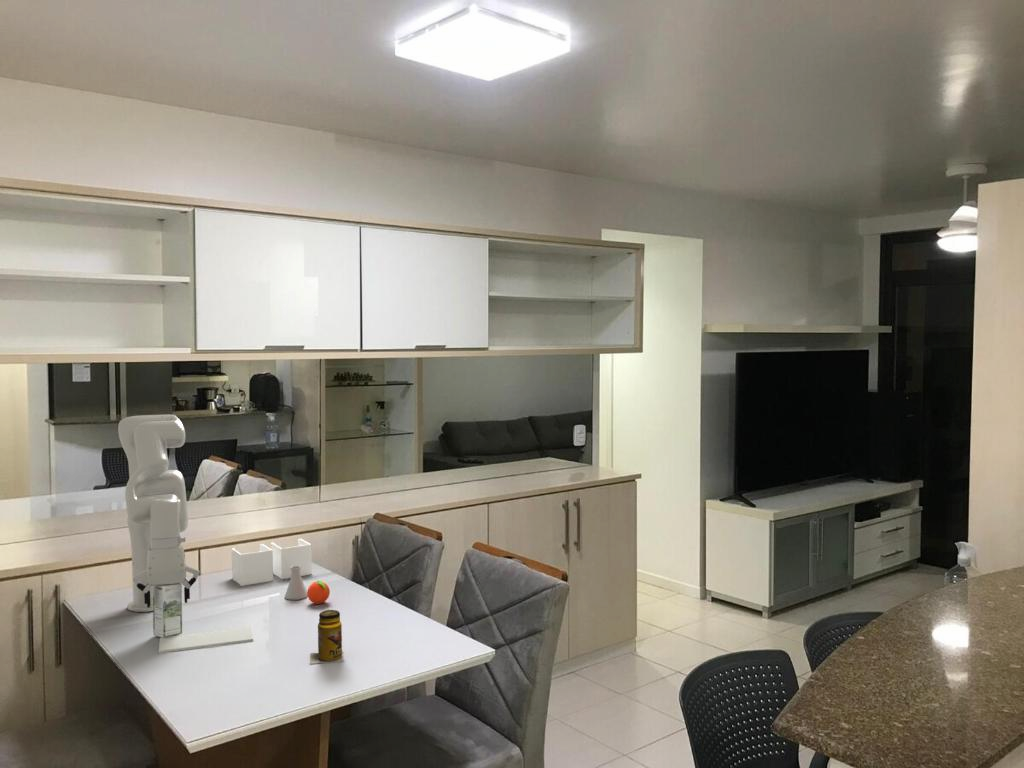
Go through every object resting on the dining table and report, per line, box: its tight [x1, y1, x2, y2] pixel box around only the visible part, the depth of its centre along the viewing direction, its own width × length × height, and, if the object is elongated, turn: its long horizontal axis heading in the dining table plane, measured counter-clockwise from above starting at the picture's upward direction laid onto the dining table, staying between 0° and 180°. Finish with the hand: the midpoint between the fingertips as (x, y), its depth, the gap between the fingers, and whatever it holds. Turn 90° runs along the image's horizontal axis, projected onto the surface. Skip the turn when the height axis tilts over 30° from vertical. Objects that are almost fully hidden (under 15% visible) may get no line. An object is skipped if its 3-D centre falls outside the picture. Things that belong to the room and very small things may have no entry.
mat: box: [158, 626, 254, 654], centre depth 232 cm, size 11×24×1 cm, turn 111°
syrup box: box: [152, 583, 183, 638], centre depth 236 cm, size 6×6×14 cm
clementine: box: [307, 580, 331, 605], centre depth 265 cm, size 8×7×7 cm
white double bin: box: [231, 538, 313, 587], centre depth 297 cm, size 25×11×11 cm, turn 124°
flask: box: [284, 566, 308, 601], centre depth 272 cm, size 7×7×10 cm
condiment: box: [309, 609, 345, 665], centre depth 218 cm, size 7×8×12 cm
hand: (167, 603), depth 235 cm, fingers open, 9 cm apart
